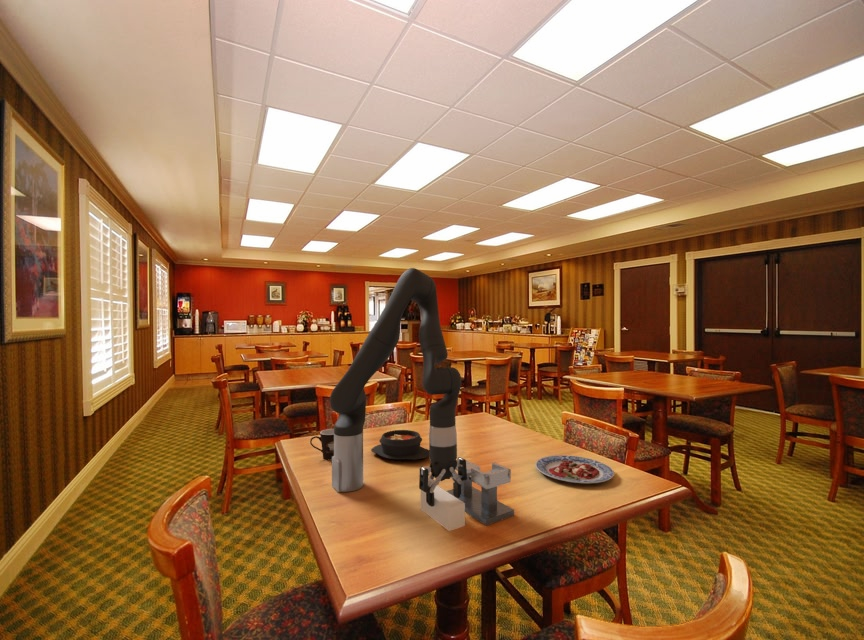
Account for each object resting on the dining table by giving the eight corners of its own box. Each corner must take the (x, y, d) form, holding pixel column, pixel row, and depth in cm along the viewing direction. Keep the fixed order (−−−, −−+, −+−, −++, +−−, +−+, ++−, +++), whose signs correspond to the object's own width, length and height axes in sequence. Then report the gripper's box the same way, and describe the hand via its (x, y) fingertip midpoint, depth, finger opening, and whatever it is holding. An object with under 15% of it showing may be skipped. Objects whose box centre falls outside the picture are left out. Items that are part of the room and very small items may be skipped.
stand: (485, 525, 102) (485, 477, 102) (442, 497, 118) (442, 455, 118) (514, 515, 107) (513, 469, 107) (468, 489, 124) (468, 449, 124)
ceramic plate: (552, 456, 155) (552, 448, 155) (622, 471, 139) (622, 463, 139) (522, 475, 135) (522, 467, 135) (600, 496, 119) (600, 486, 119)
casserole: (439, 453, 158) (439, 432, 158) (416, 468, 142) (416, 445, 142) (387, 444, 170) (387, 425, 170) (361, 458, 153) (361, 436, 154)
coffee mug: (345, 453, 158) (345, 429, 158) (338, 461, 149) (338, 435, 150) (317, 453, 159) (317, 428, 159) (309, 460, 151) (309, 434, 151)
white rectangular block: (449, 531, 99) (448, 508, 99) (420, 509, 111) (420, 488, 111) (464, 526, 102) (464, 503, 102) (435, 505, 113) (435, 484, 114)
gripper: (455, 433, 114) (456, 490, 114) (413, 442, 106) (414, 503, 106) (472, 440, 108) (473, 499, 107) (428, 449, 100) (429, 514, 100)
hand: (444, 501), depth 107 cm, fingers open, 8 cm apart
